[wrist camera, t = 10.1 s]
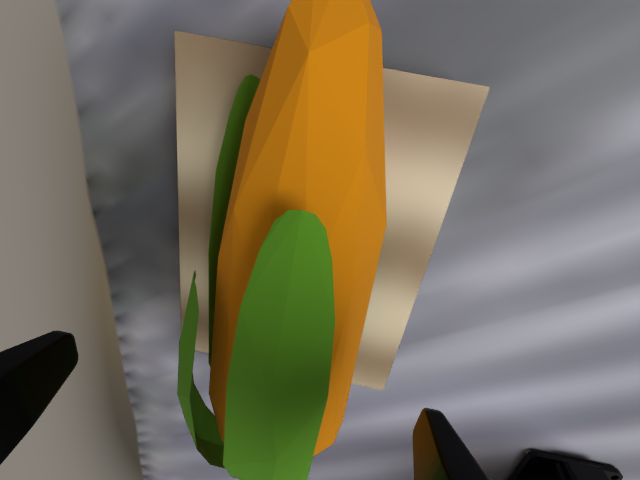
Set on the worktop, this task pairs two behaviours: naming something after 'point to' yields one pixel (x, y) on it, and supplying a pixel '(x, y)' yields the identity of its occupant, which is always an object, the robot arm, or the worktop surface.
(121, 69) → the worktop surface
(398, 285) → the birch base
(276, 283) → the corn
